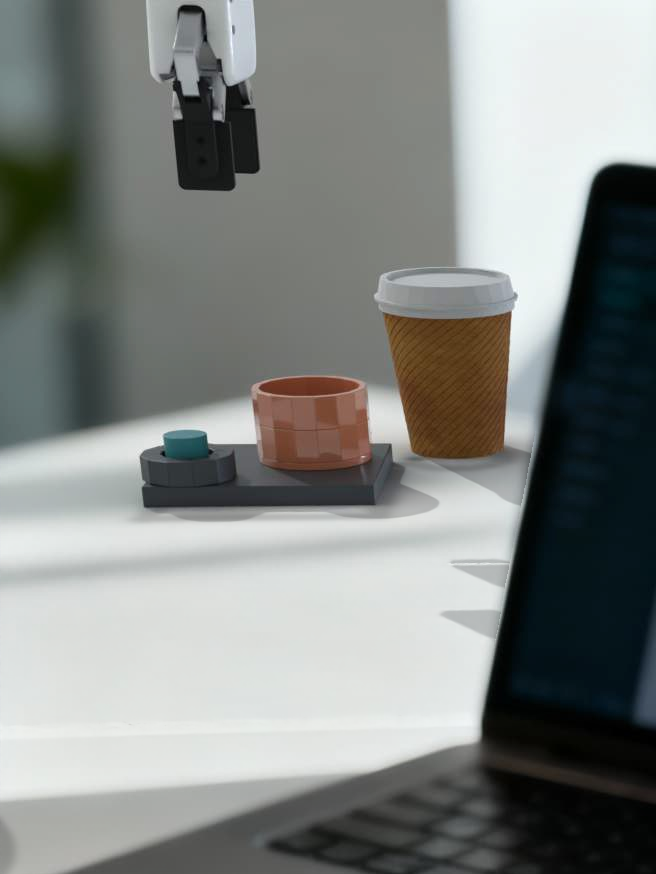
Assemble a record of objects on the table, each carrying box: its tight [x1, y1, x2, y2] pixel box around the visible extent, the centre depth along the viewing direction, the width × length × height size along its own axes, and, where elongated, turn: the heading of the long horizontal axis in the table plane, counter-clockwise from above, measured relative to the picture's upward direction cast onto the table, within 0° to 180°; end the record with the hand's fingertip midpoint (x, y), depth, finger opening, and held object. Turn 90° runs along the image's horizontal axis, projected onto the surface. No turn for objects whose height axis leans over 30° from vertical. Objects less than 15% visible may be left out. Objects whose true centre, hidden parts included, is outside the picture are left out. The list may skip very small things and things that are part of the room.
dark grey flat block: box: [138, 442, 394, 508], centre depth 156 cm, size 14×12×3 cm
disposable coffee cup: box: [373, 266, 519, 460], centre depth 165 cm, size 10×10×12 cm
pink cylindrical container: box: [250, 375, 373, 471], centre depth 157 cm, size 7×7×5 cm
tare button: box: [162, 429, 209, 458], centre depth 151 cm, size 3×3×2 cm
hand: (221, 180), depth 148 cm, fingers open, 9 cm apart
